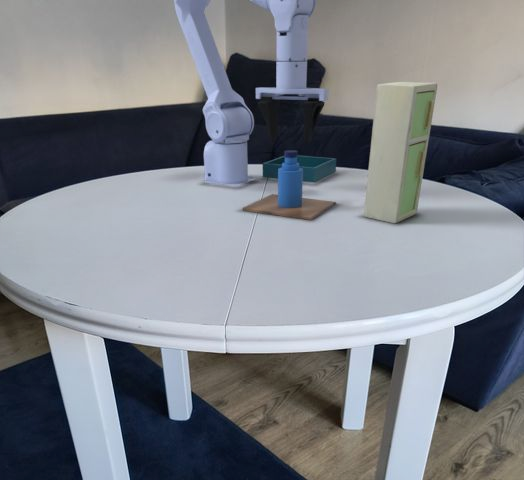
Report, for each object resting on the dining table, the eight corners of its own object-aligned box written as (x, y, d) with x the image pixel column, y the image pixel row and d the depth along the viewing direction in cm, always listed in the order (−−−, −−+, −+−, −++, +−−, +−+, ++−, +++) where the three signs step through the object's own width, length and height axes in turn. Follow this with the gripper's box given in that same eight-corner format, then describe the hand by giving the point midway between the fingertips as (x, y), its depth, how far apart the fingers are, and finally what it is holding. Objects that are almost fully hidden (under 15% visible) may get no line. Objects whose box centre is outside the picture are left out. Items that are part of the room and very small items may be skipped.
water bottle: (273, 206, 92) (273, 152, 87) (285, 200, 95) (285, 148, 90) (295, 209, 90) (296, 154, 85) (306, 203, 93) (307, 150, 88)
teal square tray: (262, 179, 114) (262, 163, 112) (287, 169, 124) (287, 154, 122) (314, 185, 109) (314, 168, 107) (335, 174, 119) (336, 158, 117)
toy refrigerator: (399, 225, 82) (419, 84, 72) (362, 217, 87) (375, 83, 76) (421, 215, 87) (442, 82, 77) (385, 208, 92) (400, 81, 81)
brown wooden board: (242, 210, 91) (242, 208, 91) (272, 196, 100) (272, 194, 100) (310, 220, 85) (310, 217, 85) (335, 204, 94) (335, 201, 94)
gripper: (336, 60, 90) (331, 139, 97) (267, 61, 96) (267, 135, 103) (321, 61, 85) (317, 144, 92) (249, 61, 91) (251, 140, 98)
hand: (290, 140), depth 97 cm, fingers open, 7 cm apart
